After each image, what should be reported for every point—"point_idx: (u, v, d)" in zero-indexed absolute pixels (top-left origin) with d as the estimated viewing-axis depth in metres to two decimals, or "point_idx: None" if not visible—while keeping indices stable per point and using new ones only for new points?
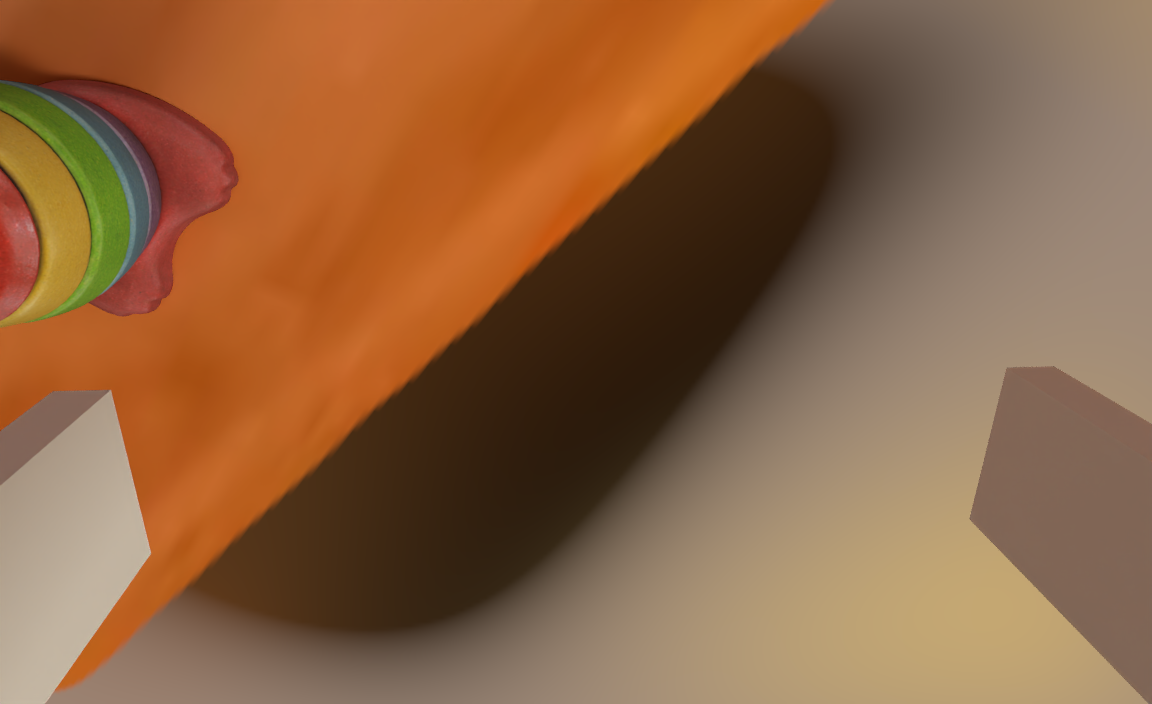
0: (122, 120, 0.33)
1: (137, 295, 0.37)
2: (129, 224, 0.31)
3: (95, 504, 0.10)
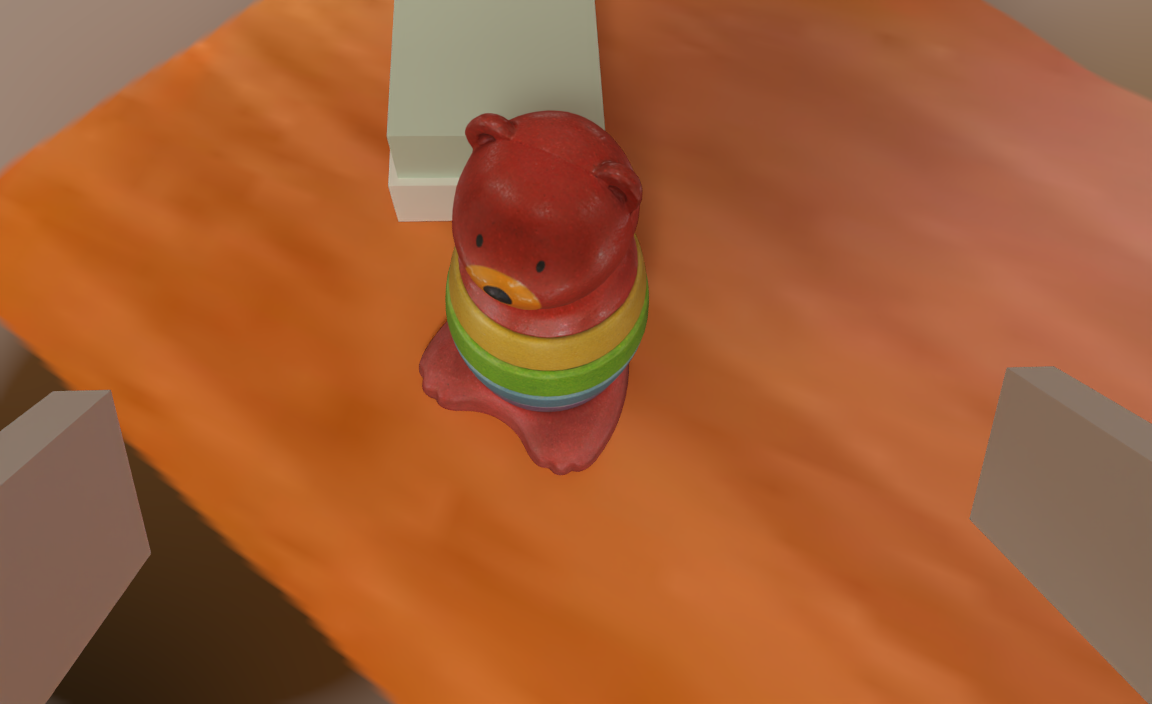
0: (607, 385, 0.38)
1: (444, 382, 0.38)
2: (540, 395, 0.33)
3: (95, 504, 0.10)
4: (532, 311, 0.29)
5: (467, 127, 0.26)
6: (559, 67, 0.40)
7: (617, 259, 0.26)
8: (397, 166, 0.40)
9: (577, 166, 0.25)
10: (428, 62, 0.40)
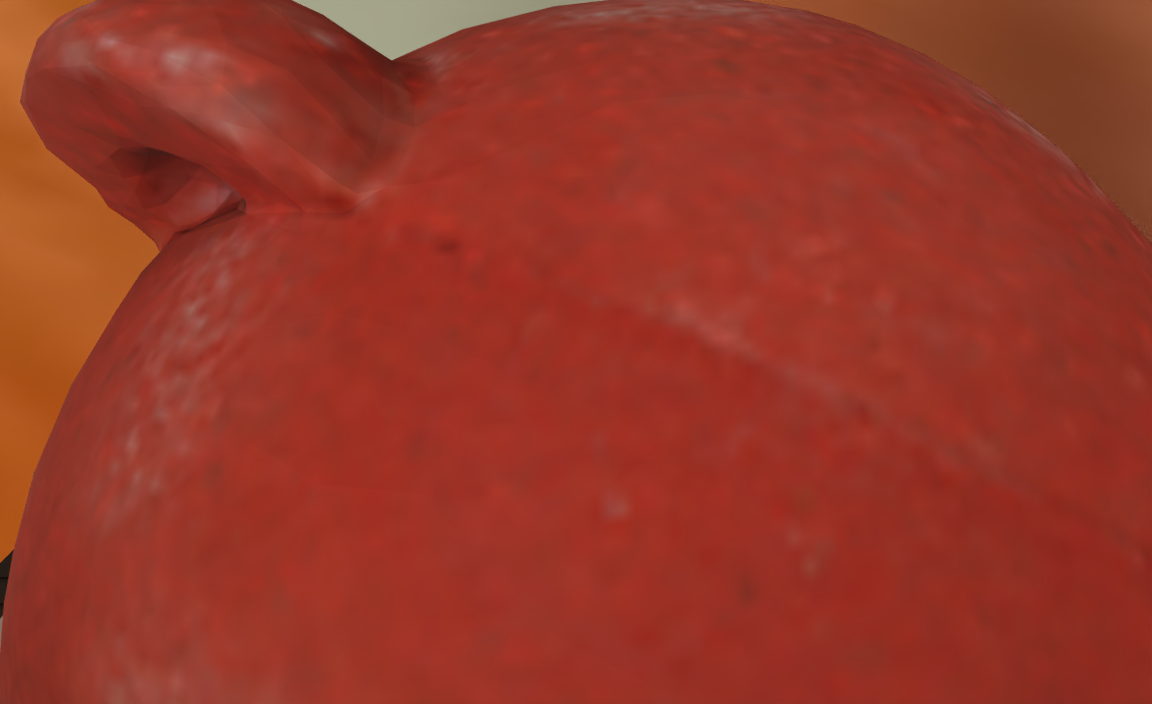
0: None
1: None
2: None
3: None
4: None
5: (24, 98, 0.03)
6: None
7: None
8: None
9: (1060, 515, 0.02)
10: None
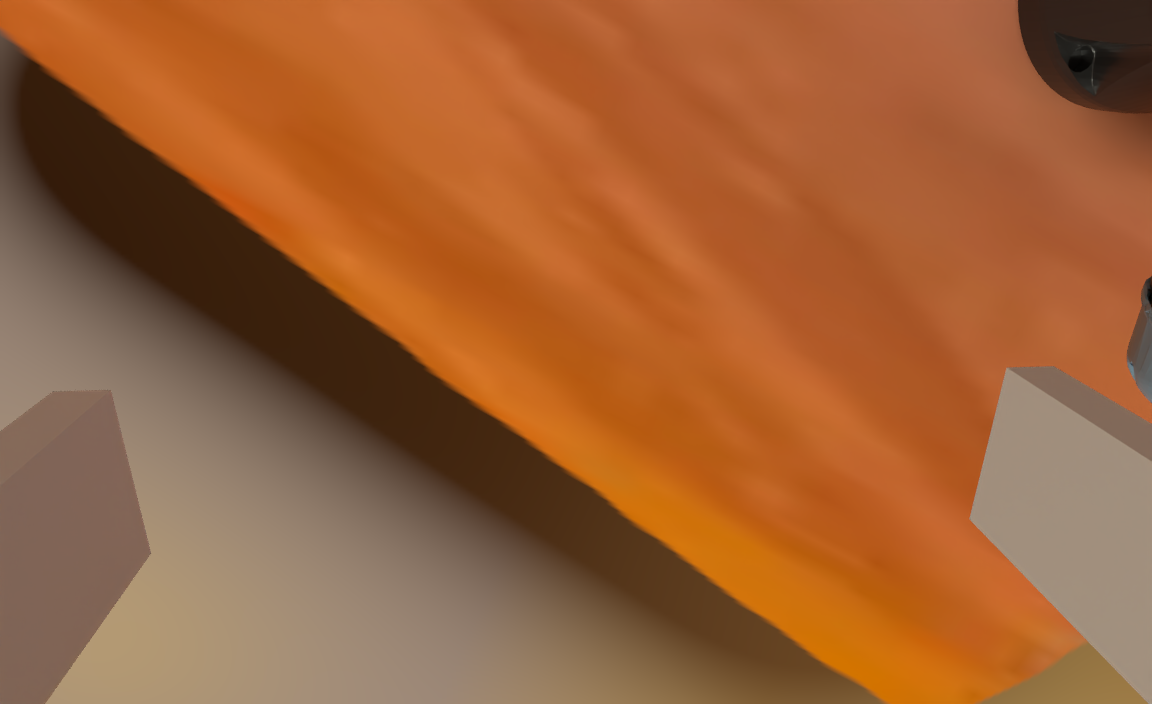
0: None
1: None
2: None
3: (95, 504, 0.10)
4: None
5: None
6: None
7: None
8: None
9: None
10: None
